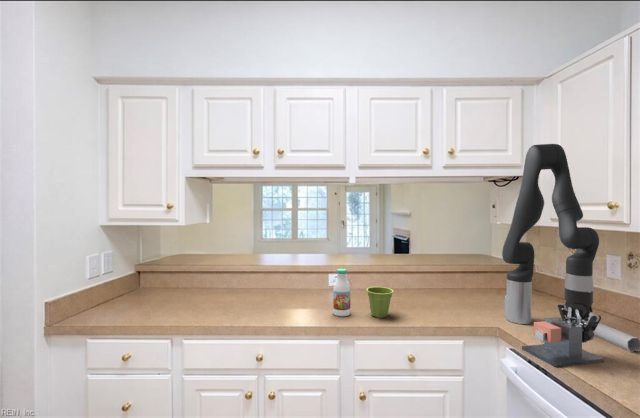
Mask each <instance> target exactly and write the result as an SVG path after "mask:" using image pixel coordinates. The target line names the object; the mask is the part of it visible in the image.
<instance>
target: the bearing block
mask: <svg viewBox="0 0 640 418" xmlns="http://www.w3.org/2000/svg"><path fill="white" fill-rule="evenodd" d="M544 321H545V322H547V323H550V324H552V325H554V326H557V327H559V328H561V331H562V334H561V342H543V343H544V344H543V343H542V344H533V345H532V344H531V345H523V346H521V349H522V351H524V352H526V353H529V354H530V355H532V356H534V357H535V358H537V359H539V360H541V361H543V362H545V363H547V364H548V365H550V366H552V367H554V368H561V367H569V366H571V367H572V366H579V365H580V366H581V365H588V364H595V363H597V364H598V363H604V361H605V360H604V358H603V357H601V356H598V355H597V354H594V353H592V352H590V351H587V350H585V349H583V343H582V326H580V325H577V324H575V323H572V322H569V321H567V320H564V319H562V318H561V317H559V316H552V317H551V316H550V317H544Z"/></svg>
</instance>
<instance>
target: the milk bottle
mask: <svg viewBox="0 0 640 418" xmlns="http://www.w3.org/2000/svg"><path fill="white" fill-rule="evenodd" d="M347 275H348V270H347V268H337V269H336V279H335V282H334V284H333V288H332V289H333V291H332V313H333V315H334V316H336V317H347V316H350V314H351V285H350V284H349V281H348V277H347Z"/></svg>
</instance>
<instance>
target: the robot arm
mask: <svg viewBox="0 0 640 418" xmlns="http://www.w3.org/2000/svg"><path fill="white" fill-rule="evenodd" d="M568 163H569V162H568V159H567V154H566V152H565V149H564V147H562V145H560V144H558V143H542V144H533V145H531V146H530V147H529V148H528V150H527V152H526V155H525V159H524V165H523V171H522V173H523V174H522V178H521V185H520V189H519V192H518V197H517V200H516V202H515V206H514V207H515V208H514V211H513V215H512V220H511V224H510V227H509V231H508V233H507V234H506V235H507V236H506V238H505V241H504V244H503V247H502V251H501V252H502V253H501V256H502V260H503V261H504V262H505V263H506V264H510V265H518V266H517V267H516V268H515V269H512V270H509V271H507V273H506V295H504V318H505V319H506V320H507V321H508V322H511V323H514V324H519V325H530V324H532V308H533V307H532V305H533V304H532V301H533V300H532V299H533V298H532V296H533V295H532V294H533V293H532V292H533V290H532V289H533V283H532V282H533V276H534V268H535V267H534V266H535V248H534V246H533V244H531V243H530V242H528V241H521V239H522V238H523V236H524V235H525V234H526V233H527V232H528V231H530V230H531V229H532V228H533V227H534V226H536V224H537V223H538V222H539V221H540V220H541V217H542V213H543V210H544V207H545V199H544V196H543V194H542V191H541V189H540V187H539V179H540V174H541V171H543V170H550V171H551V172H552V174H553V176H554V185H553V190H552V195H551V202H552V206H553V209H554V211H555V214H556V216H557V220H558V233H559V235H558V236H559V240H560V242H561V243H562V245H563V246H564V247H566V248H567V249H570V250H575V253H573V254H571V255H569V256H566V260H565V277H564V300H565V303H563V304H562V303H560V304H558V305H557V309H558V312H559V315H560V318H561V319H564V320H567V321H569V322H572V323H575V324H577V321H578V323H579V325H580V326H582V344H583V343H584V344H585V343H587V342H589V341H588V332H589V331H595V329H596V327H597V326H598V324H599V323H601V320H602V316H601V315H597V314H596V313H594V310H593V307H592V305H593V303H594V279H593V269H594V268H593V266H594V265H593V263H594V261H595V258H596V255H597V252H598V249H599V246H600V238H599V234H598V232H597V231H596V230H595V229H594V228H591V227H586V226H585V227H584V226H583V227H582V226H581V227H578V225H577V222H579V221H581V220H582V219H583V218H584V213H583V210H582V208H581V205H580V203H579V201H578V199H577V197H576V193H575V191H574V187H573V183H572V177H571V172H570V168H569V164H568ZM589 319H590V320H589ZM582 320H584V321H582ZM584 326H585V327H584Z"/></svg>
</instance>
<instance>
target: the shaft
mask: <svg viewBox="0 0 640 418" xmlns="http://www.w3.org/2000/svg"><path fill="white" fill-rule="evenodd" d="M577 325H579V323H578V324H577ZM584 327H585V326H584ZM561 334H562V331H561ZM534 336H535V337H534V338H535V340H537V341H539V342H542V343H544V342H548V341H547V333H545V332H543V331H541V330H538V329H537V330H535V335H534ZM594 337H595V335H594V332H593V331H589V332H588V341H587V342H590V341H593V339H594Z"/></svg>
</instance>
